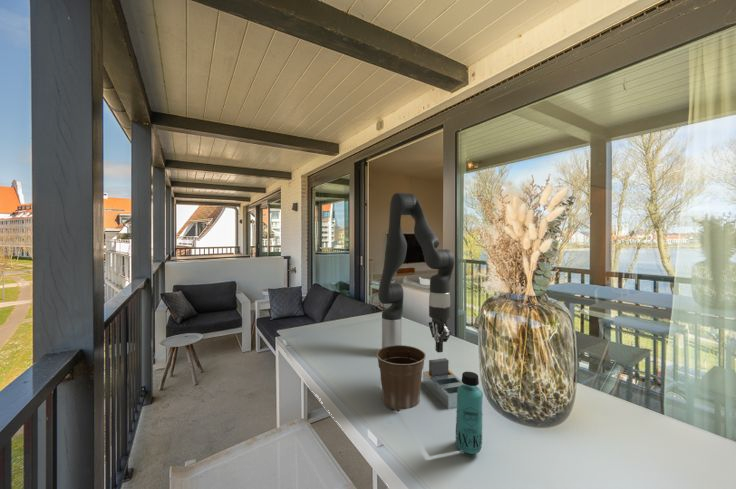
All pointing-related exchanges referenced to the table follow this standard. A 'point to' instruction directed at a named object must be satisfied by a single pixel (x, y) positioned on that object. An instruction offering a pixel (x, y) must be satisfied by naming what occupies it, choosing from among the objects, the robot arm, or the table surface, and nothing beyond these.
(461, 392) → the beverage bottle
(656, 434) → the table surface
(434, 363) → the panel
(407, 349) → the plant pot
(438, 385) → the rack
